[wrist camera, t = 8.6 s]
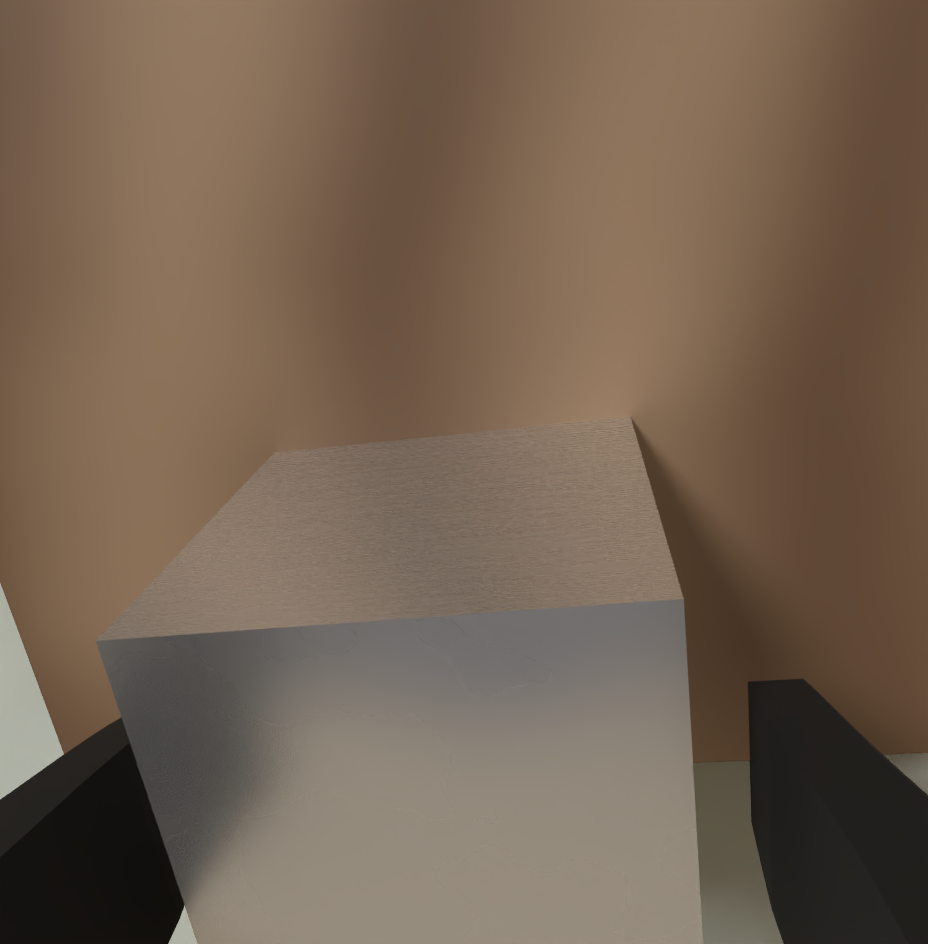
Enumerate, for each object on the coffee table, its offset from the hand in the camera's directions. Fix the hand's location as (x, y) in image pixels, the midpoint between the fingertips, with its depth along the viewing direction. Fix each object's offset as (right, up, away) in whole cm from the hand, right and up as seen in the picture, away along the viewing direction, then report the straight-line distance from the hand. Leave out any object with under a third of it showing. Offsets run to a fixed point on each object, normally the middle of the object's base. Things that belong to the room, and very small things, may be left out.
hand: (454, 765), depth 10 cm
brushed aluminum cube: (0, +2, +3) cm, 3 cm away
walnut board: (0, +5, +3) cm, 6 cm away
